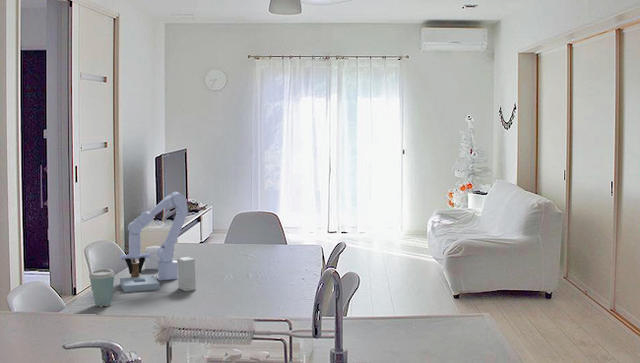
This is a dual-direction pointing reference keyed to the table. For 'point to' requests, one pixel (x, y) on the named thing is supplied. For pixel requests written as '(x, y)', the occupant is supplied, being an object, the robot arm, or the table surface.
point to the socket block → (139, 283)
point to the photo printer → (152, 257)
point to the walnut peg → (134, 270)
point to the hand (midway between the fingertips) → (135, 273)
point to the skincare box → (186, 274)
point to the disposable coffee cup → (102, 286)
